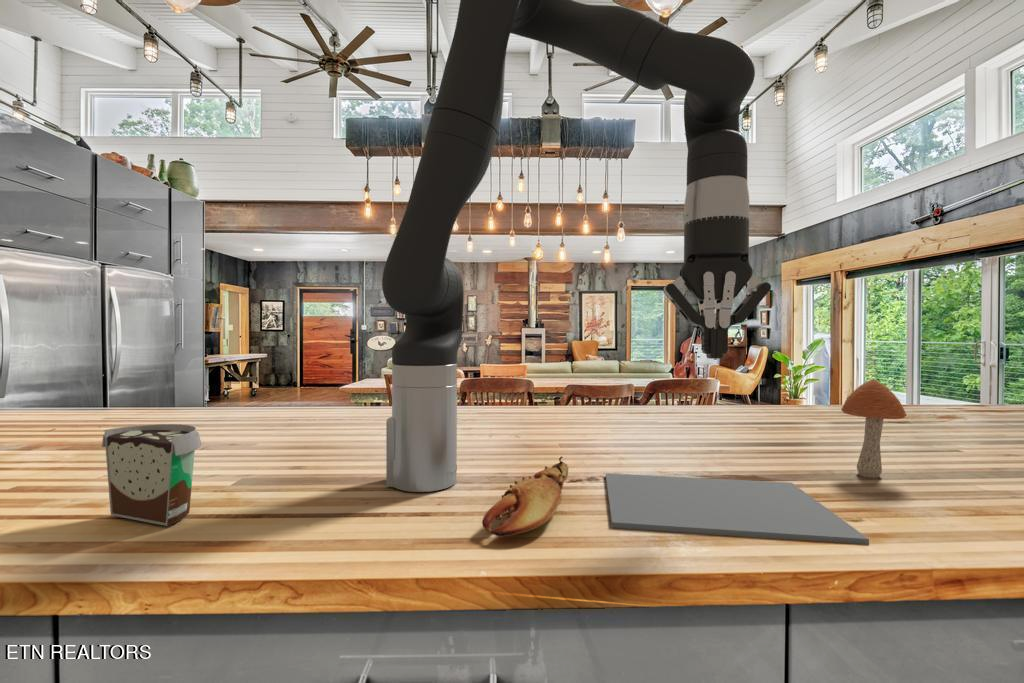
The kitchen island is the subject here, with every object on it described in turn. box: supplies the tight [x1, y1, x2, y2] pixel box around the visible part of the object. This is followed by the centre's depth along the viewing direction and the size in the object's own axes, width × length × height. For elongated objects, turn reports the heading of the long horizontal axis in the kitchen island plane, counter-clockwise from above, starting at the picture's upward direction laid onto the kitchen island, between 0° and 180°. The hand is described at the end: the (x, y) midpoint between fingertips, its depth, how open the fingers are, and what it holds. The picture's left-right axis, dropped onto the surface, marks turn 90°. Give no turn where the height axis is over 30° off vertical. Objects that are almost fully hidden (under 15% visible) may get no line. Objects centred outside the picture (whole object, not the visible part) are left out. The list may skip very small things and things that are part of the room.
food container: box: [101, 423, 202, 527], centre depth 58 cm, size 12×6×10 cm, turn 71°
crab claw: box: [481, 456, 569, 537], centre depth 58 cm, size 7×5×20 cm
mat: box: [605, 472, 870, 545], centre depth 61 cm, size 26×19×1 cm
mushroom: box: [841, 378, 907, 479], centre depth 73 cm, size 8×8×15 cm
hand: (714, 358), depth 61 cm, fingers closed
